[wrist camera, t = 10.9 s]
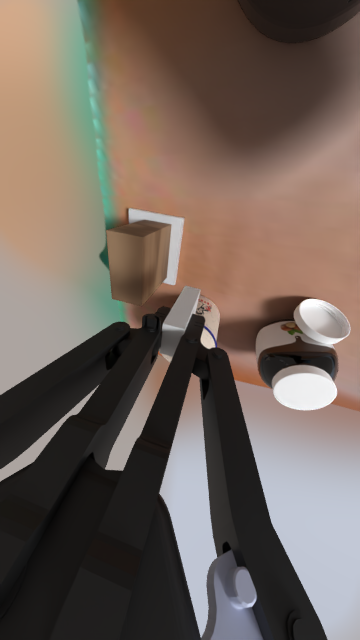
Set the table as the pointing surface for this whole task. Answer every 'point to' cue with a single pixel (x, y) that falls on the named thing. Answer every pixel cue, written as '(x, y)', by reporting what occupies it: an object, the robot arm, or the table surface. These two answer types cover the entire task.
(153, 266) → the walnut slab
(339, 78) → the table surface
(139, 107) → the table surface
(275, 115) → the table surface
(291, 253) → the table surface
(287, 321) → the spread jar
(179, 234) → the grey board
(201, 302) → the teacup with lid
